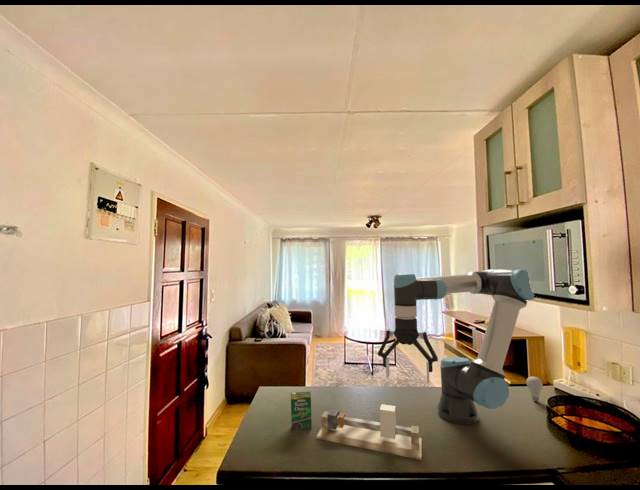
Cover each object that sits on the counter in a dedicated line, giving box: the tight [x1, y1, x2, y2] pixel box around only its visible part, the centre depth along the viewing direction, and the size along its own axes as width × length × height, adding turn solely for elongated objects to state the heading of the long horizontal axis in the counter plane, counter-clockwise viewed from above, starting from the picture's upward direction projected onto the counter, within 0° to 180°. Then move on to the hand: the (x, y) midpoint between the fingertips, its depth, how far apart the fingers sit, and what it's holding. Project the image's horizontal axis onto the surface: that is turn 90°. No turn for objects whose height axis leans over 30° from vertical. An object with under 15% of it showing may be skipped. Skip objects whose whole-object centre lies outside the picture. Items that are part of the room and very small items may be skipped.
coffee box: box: [290, 391, 313, 431], centre depth 113 cm, size 8×3×13 cm, turn 93°
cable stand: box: [316, 408, 423, 461], centre depth 105 cm, size 36×11×7 cm, turn 70°
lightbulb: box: [525, 376, 544, 402], centre depth 133 cm, size 6×6×11 cm
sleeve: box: [379, 403, 397, 439], centre depth 103 cm, size 5×4×9 cm
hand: (407, 378), depth 102 cm, fingers open, 13 cm apart
